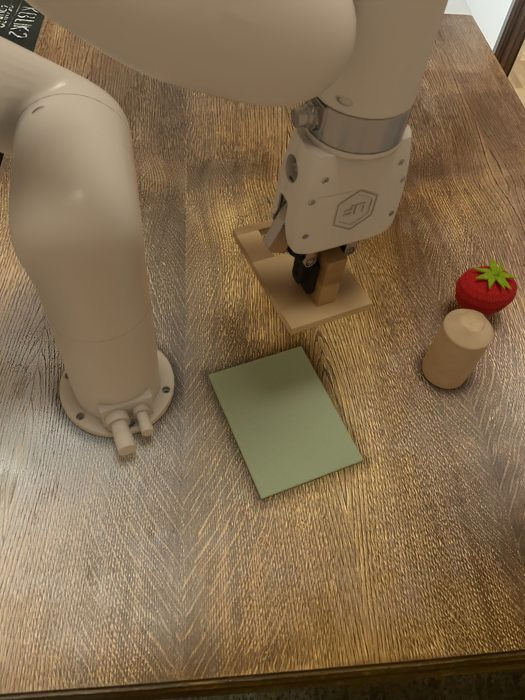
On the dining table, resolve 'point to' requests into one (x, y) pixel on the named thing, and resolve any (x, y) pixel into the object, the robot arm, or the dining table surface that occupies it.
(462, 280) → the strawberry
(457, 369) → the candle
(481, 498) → the dining table surface
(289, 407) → the mat
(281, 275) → the wooden board with handle
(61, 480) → the dining table surface
